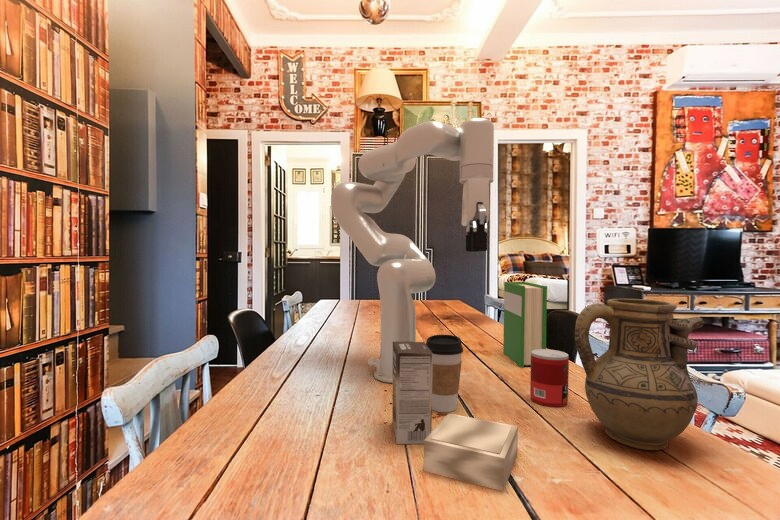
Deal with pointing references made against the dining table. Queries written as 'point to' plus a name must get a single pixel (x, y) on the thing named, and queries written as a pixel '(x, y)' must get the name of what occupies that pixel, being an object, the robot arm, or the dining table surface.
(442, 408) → the coffee cup
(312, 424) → the dining table surface
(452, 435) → the beige square tray
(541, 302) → the hardback book
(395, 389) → the coffee box
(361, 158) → the robot arm
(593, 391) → the decorative pitcher
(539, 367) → the canned food
